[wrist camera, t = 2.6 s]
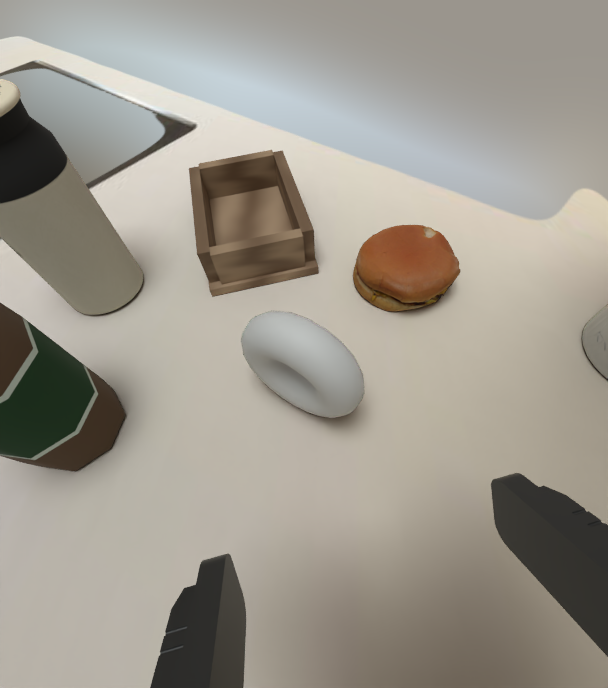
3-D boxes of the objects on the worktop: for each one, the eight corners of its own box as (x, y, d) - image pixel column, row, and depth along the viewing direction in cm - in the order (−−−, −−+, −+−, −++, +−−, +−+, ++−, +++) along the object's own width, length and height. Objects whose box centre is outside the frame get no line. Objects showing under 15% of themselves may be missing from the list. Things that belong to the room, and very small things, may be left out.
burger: (341, 299, 34) (343, 266, 30) (370, 242, 39) (375, 206, 35) (438, 330, 32) (454, 298, 28) (458, 264, 36) (474, 229, 32)
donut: (366, 406, 28) (383, 342, 19) (346, 441, 26) (355, 388, 18) (269, 354, 31) (247, 279, 23) (246, 383, 30) (214, 314, 21)
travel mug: (144, 255, 39) (29, 68, 24) (144, 306, 35) (5, 117, 20) (75, 271, 39) (-88, 88, 23) (67, 324, 34) (-138, 143, 19)
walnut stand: (285, 184, 45) (281, 146, 41) (318, 273, 36) (317, 236, 32) (201, 201, 44) (187, 164, 40) (212, 296, 35) (196, 261, 31)
